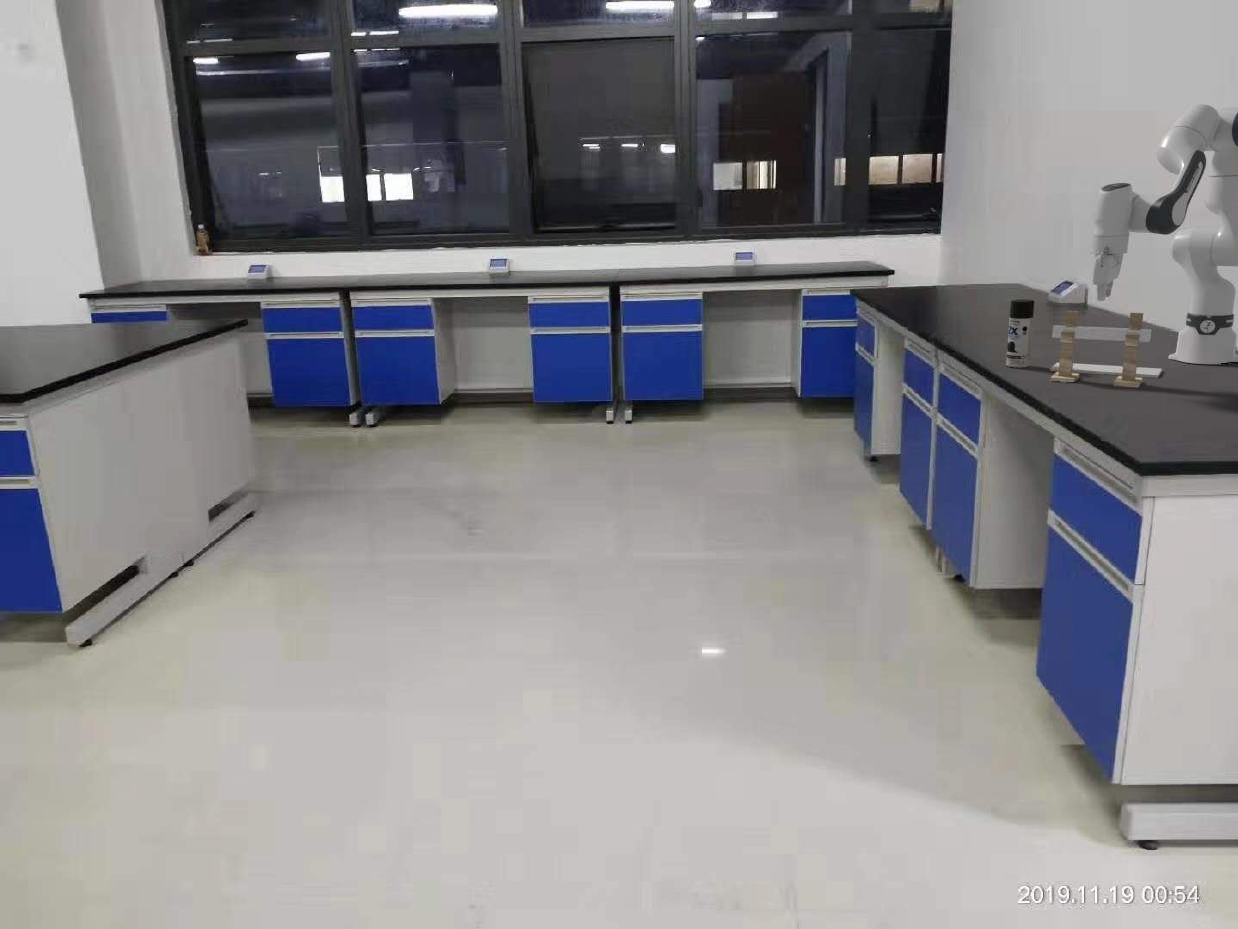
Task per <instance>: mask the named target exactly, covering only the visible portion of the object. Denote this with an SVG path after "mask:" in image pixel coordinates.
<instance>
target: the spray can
mask: <svg viewBox="0 0 1238 929" xmlns="http://www.w3.org/2000/svg"><path fill="white" fill-rule="evenodd" d="M1009 309H1010V310H1009V319H1008V336H1007V346H1006V347H1007V348H1006V361H1005V365H1007V366H1008V367H1007V366H1006V367H1007V368H1011V367H1013V368H1012V369H1026V368H1029V367H1030V363H1031V362H1030V361H1031V352H1032V351H1031V349H1032V338H1033V326H1034V325H1033V324H1034V313H1035V312H1034V311H1035V300H1034V299H1026V298H1025V299H1022V298H1021V299H1011V300H1010V308H1009Z"/></svg>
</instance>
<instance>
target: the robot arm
mask: <svg viewBox="0 0 1238 929" xmlns="http://www.w3.org/2000/svg"><path fill="white" fill-rule="evenodd" d="M1205 152H1214V153H1213V156H1212V160H1211V163H1210V168H1209V171H1208V172H1209V173H1208V177H1207V178H1208V179H1207V184H1206V190H1205V197H1204V204H1205V205H1204V206H1205V207H1206V208H1207V210H1208V211H1209V212H1212V213H1213V214H1215V215H1217V216H1218V217H1220V219H1221V222H1222V226H1217V227H1216V226H1197V227H1190V228H1187V229H1186V228H1185V229H1181V230H1179V231H1177V230H1178V229H1179V228H1180V227H1181V226H1182V224H1183V223H1184V221H1185V219H1186V216H1187V213H1188V212H1187V211H1188V209H1189V208H1188V207H1189V206H1190V205H1189V204H1190V203H1191V201H1192V198H1193V197H1194V194H1195V192H1196V190H1197V188H1198V187H1199V184H1200V181H1201V179H1202V177H1203V176H1204V172H1205V170H1206V167H1207V157H1206V154H1205ZM1156 158H1157V160H1158V163H1159V164H1160V165H1161V166H1162V167H1163V169H1165V170H1166V171H1167V172H1169V173H1172V174H1174V175H1177V177H1176V179H1175V181H1174V184H1173V185H1172V187H1171V189H1170V191H1168V192H1166V193H1163V194H1158V195H1157V194H1156V195H1155V194H1154V195H1143V194H1142V195H1141V194H1139V193H1136V192H1134V191H1133V187H1132V183H1127V182H1117V183H1109V184H1106V185H1104V186H1102V187H1101V188H1100V189H1099V192H1098V194H1097V197H1096V201H1095V206H1094V213H1093V215H1094V216H1093V221H1094V229H1093V231H1092V234H1091V235H1092V236H1091V243H1090V244H1091V245H1090V254H1092V255H1093V254H1094V260H1095V261H1094V268H1093V276H1092V284H1093V285H1096V294H1097V295H1096V300H1097V301H1098V302H1103V301H1105V300H1106V298H1109V297H1111V294H1112V289H1113V285H1114V281H1115V280H1117V279H1118V278H1119V275H1120V272H1121V268H1122V263H1123V259H1124V254H1127V253H1128V248H1129V238H1130V233H1136V234H1137V233H1142V234H1144V233H1145V234H1146V233H1147V234H1156V235H1157V234H1158V235H1164V236H1165V235H1166V236H1167V235H1170V234H1172V233H1174V232H1175V231H1177V233H1176V234H1175V235H1174V236H1173V237H1172V240H1171V242H1170V245H1169V251H1170V255H1171V257H1172V259H1173V261H1175V262H1176V263H1177V264H1178V265H1179V266H1180V267H1181V268H1182V269H1183V270H1184V272H1185V273H1186V275H1187V277H1188V282H1189V285H1190V296H1189V297H1190V298H1189V310H1188V312H1187V313H1186V317H1185V325H1186V326H1185V327H1184V328H1183V329H1181V331H1178V336H1177V344H1176V350H1175V352H1174V353H1171V354H1169V355H1168V360H1174V361H1180V362H1183V363H1188V364H1189V363H1190V364H1198V365H1222V364H1221V363H1227V362H1238V354H1237V353H1236V350H1237V348H1238V347H1237V338H1238V334H1237V333H1236V331H1234V329H1233V326H1234V320H1235V314H1234V306H1235V298H1236V288H1235V285H1234V284H1233V283H1232V282H1231V281H1229V280H1228V279H1226V278H1224V277H1223V276H1221V274H1220V272H1219V271H1218V267H1238V107H1223V108H1219V109H1216V108H1214V107H1213V106H1211V105H1208V104H1203V103H1201V104H1196V105H1192V106H1191V107H1189V108H1187V109H1186V110H1185V111H1184V112H1183V113H1182V114H1181V115H1179V117H1178V118H1176V120H1175V121H1174V123H1173V124H1171V126H1170V127H1169V128H1168V129H1167V131H1166V132H1165V133H1164V135H1163V137H1162V138H1161V139H1160V141H1159V143H1158V145H1157V148H1156Z"/></svg>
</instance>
